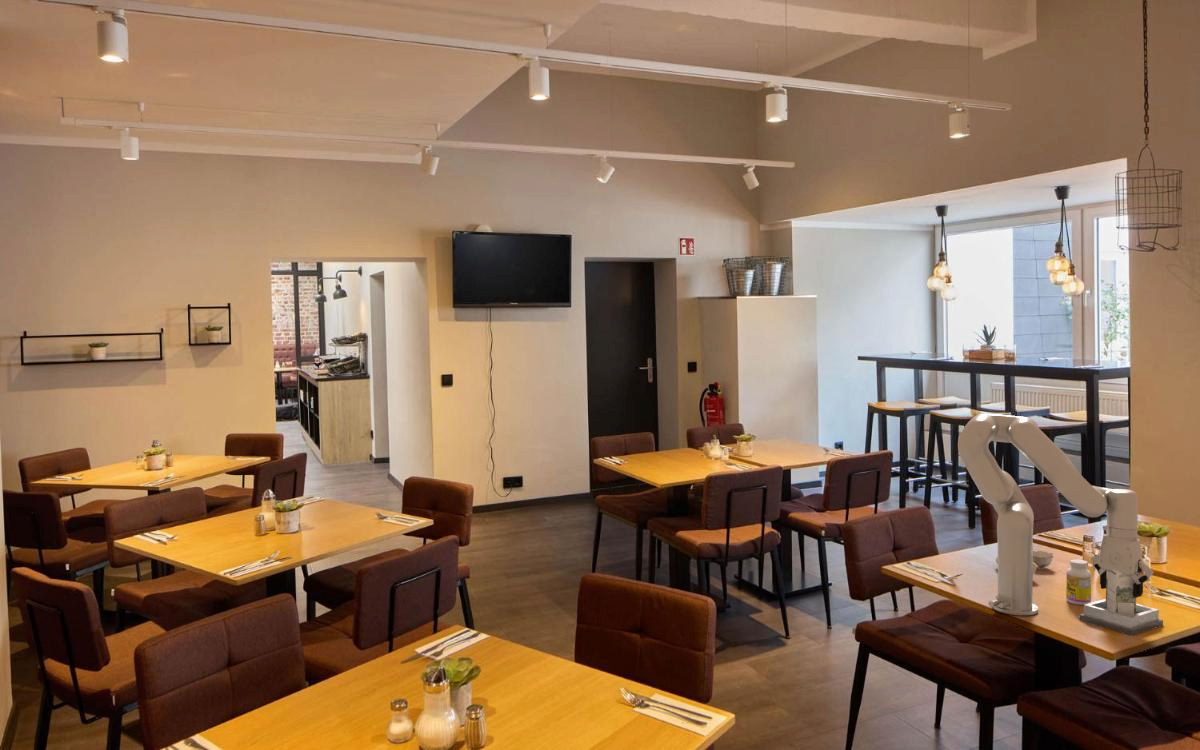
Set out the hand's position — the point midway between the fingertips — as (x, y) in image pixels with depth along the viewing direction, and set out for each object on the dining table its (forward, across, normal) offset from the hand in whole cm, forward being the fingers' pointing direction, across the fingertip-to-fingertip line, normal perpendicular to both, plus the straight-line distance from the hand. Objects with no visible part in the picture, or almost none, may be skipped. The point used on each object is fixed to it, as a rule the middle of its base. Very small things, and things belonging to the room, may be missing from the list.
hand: (1120, 592), depth 245 cm
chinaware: (+9, -46, +22) cm, 52 cm away
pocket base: (+9, 0, 0) cm, 9 cm away
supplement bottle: (+9, -17, +7) cm, 20 cm away
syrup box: (+8, 0, 0) cm, 8 cm away
